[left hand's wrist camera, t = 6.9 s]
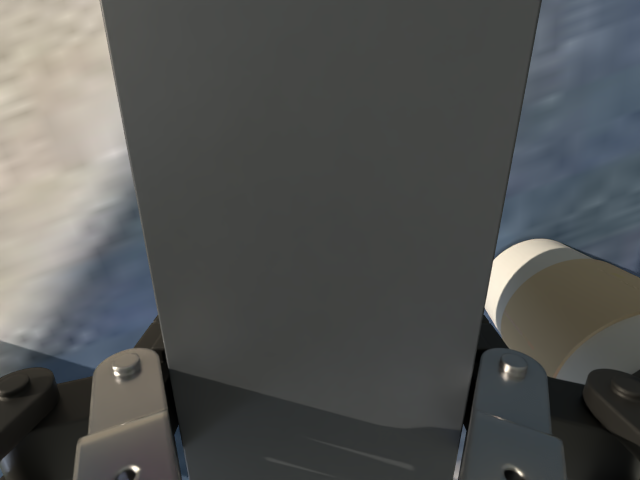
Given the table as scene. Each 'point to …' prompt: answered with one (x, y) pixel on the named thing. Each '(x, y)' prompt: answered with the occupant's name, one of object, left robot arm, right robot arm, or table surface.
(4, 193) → the table surface
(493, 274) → the coffee cup
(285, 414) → the box
